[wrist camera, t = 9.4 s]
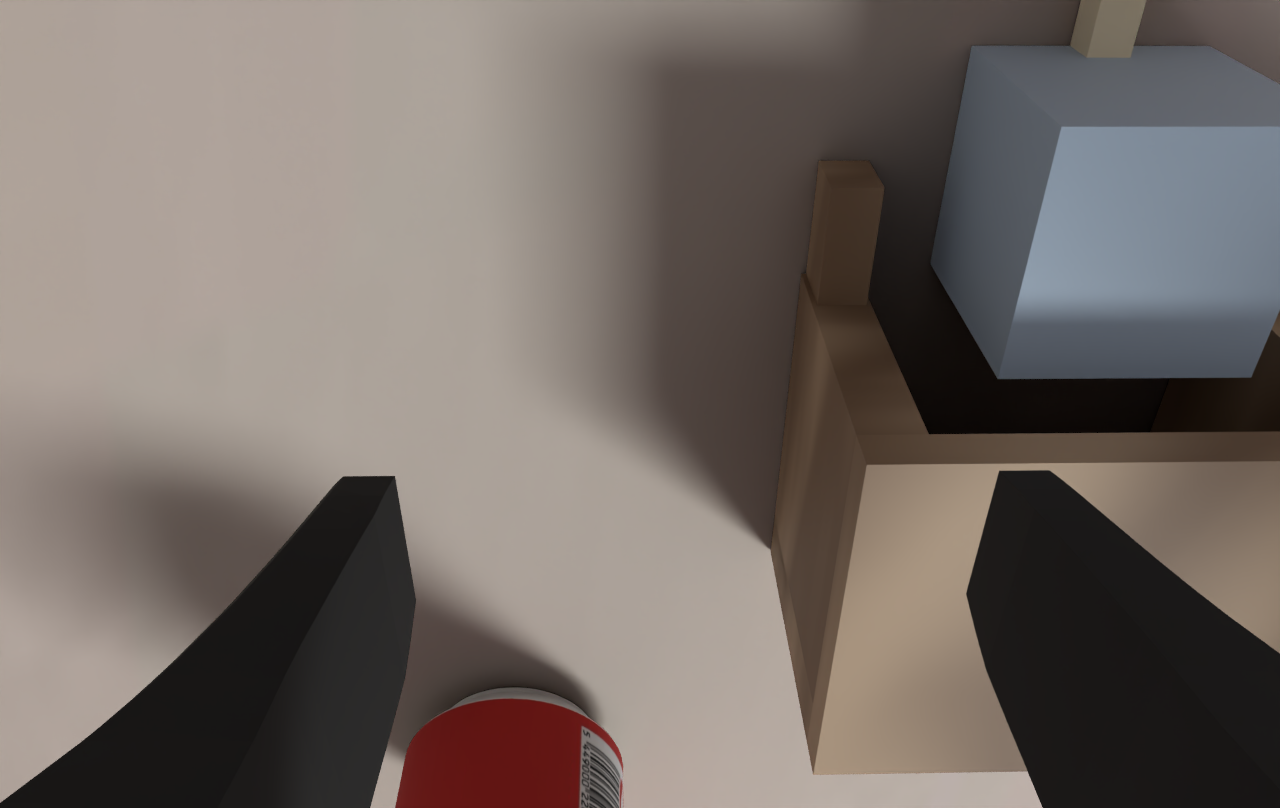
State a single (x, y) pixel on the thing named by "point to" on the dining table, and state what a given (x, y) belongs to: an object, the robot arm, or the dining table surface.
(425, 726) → the beverage can
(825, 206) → the open wooden box
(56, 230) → the dining table surface
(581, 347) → the dining table surface
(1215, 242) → the tethered block
